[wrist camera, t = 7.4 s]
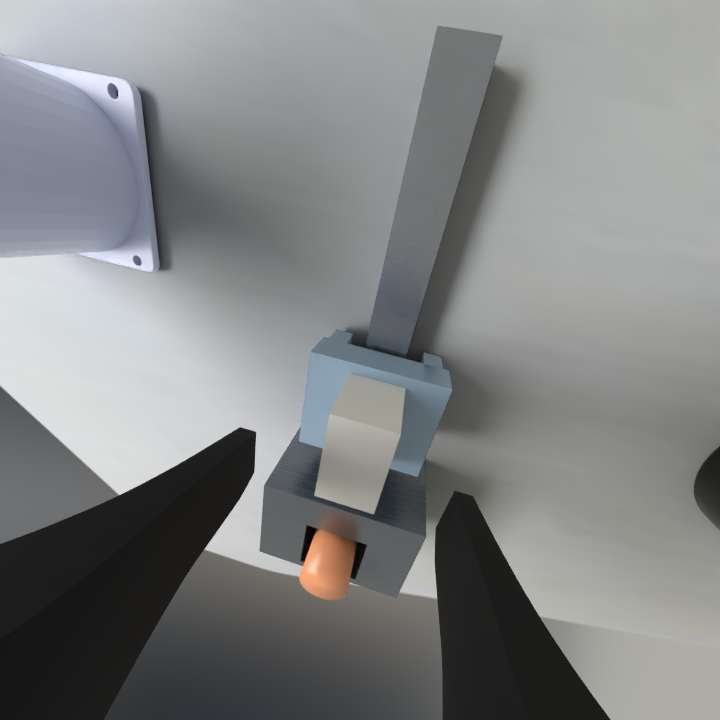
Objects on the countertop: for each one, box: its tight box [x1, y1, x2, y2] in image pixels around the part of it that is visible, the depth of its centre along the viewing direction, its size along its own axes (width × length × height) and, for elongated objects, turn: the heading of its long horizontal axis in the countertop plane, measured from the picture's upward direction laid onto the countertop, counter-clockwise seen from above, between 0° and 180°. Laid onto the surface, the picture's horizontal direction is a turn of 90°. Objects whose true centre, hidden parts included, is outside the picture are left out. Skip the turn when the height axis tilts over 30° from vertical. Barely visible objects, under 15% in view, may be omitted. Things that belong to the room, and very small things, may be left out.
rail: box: [365, 26, 502, 359], centre depth 13 cm, size 2×18×2 cm, turn 168°
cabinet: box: [260, 427, 426, 598], centre depth 17 cm, size 8×6×5 cm
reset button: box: [299, 528, 357, 600], centre depth 15 cm, size 2×2×4 cm
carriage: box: [299, 330, 453, 514], centre depth 13 cm, size 6×5×6 cm
